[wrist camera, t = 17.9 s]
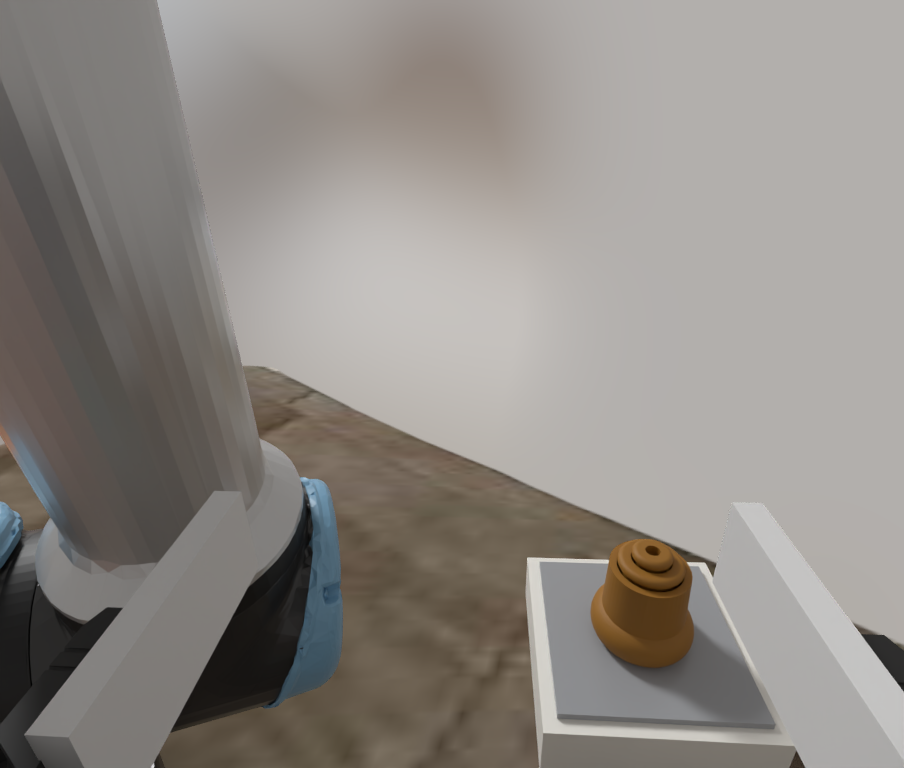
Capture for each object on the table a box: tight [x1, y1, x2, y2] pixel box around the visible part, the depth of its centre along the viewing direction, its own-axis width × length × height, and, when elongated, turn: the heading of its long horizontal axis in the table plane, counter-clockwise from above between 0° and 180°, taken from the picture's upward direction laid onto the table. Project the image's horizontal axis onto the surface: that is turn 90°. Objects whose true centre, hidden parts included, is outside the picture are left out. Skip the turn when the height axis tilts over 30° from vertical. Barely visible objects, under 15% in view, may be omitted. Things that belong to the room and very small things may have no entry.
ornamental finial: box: [590, 539, 694, 668], centre depth 39 cm, size 8×8×8 cm
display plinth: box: [526, 558, 796, 768], centre depth 42 cm, size 16×16×5 cm
